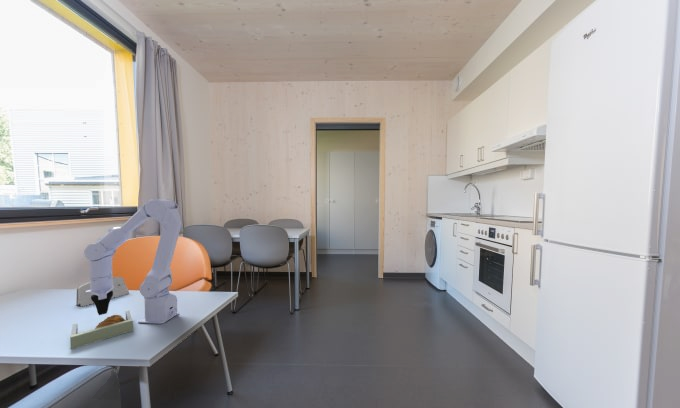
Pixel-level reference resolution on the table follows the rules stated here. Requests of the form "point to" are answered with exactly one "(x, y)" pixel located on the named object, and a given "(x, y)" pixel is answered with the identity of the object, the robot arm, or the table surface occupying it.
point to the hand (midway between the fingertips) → (102, 313)
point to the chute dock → (100, 332)
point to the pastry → (110, 321)
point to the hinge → (86, 298)
